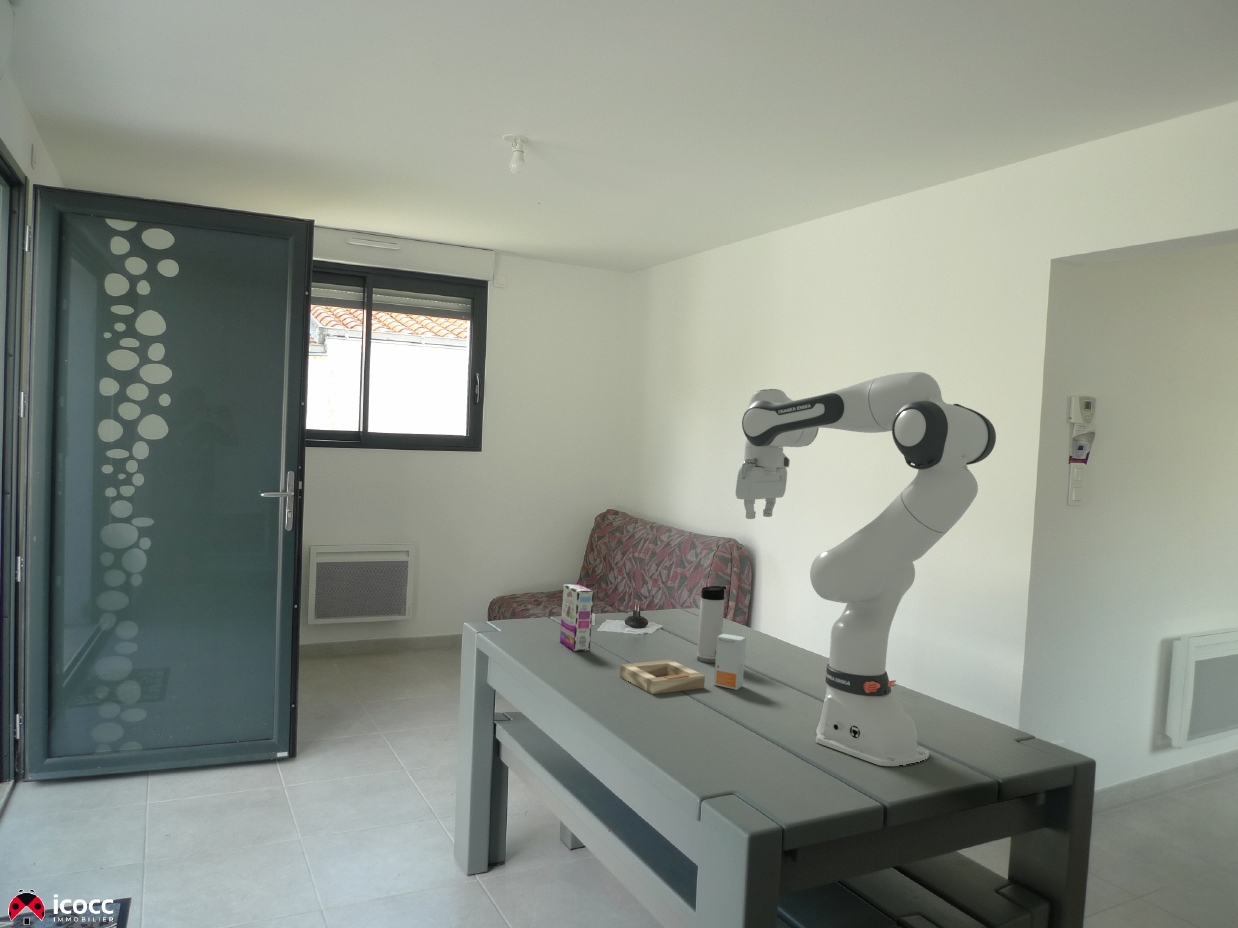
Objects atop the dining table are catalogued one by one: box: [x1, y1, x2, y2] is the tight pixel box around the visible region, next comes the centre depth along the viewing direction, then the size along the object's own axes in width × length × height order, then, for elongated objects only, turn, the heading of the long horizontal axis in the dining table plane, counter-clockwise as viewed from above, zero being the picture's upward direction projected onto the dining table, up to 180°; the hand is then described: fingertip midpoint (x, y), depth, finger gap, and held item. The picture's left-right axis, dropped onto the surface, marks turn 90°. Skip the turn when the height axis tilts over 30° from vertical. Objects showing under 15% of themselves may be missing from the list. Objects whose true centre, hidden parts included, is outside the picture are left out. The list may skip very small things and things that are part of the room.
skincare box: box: [713, 633, 747, 691], centre depth 205 cm, size 6×4×12 cm
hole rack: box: [619, 659, 706, 695], centre depth 205 cm, size 15×15×3 cm
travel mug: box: [696, 585, 727, 664], centre depth 228 cm, size 6×7×20 cm
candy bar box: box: [559, 583, 595, 652], centre depth 234 cm, size 11×5×16 cm, turn 25°
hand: (759, 517), depth 200 cm, fingers open, 8 cm apart
